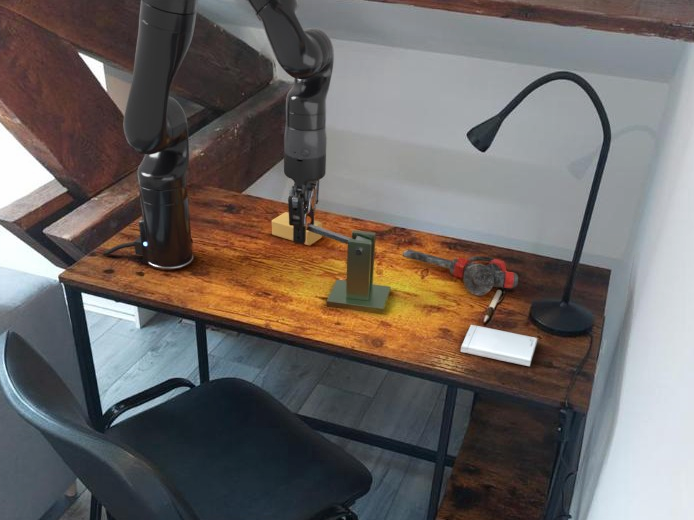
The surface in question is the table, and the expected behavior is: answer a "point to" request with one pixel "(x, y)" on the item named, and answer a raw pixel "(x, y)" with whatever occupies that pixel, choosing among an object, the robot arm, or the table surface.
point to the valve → (472, 271)
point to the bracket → (360, 279)
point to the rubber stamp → (286, 231)
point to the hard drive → (499, 345)
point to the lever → (330, 233)
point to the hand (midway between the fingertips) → (303, 235)
